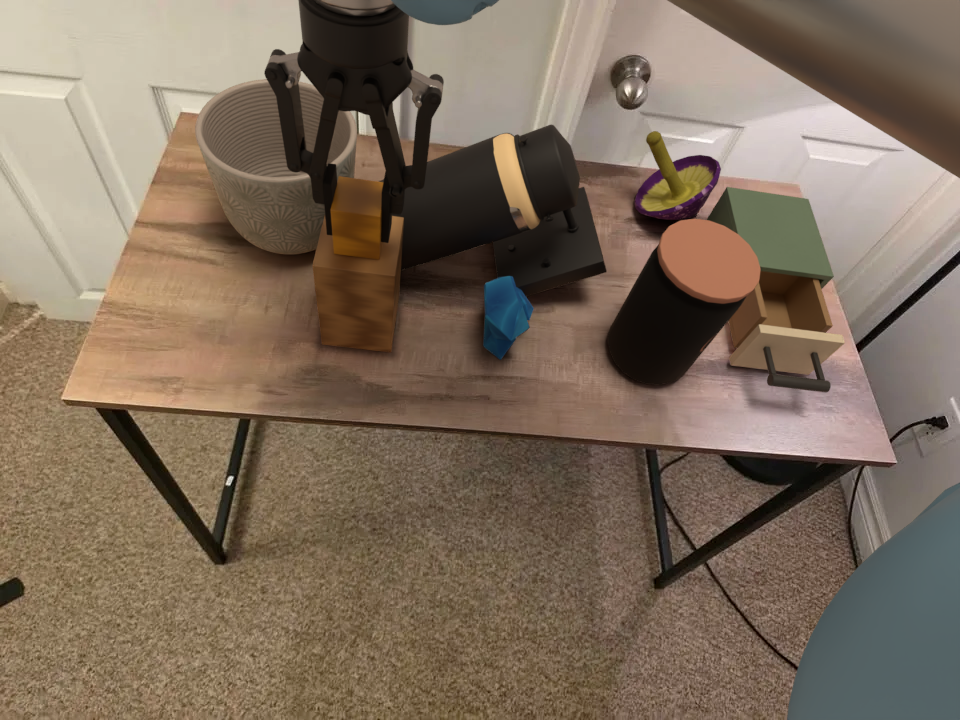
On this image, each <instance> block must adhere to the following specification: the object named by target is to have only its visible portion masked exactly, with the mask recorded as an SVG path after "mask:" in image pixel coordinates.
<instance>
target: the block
mask: <svg viewBox="0 0 960 720" xmlns="http://www.w3.org/2000/svg"><path fill="white" fill-rule="evenodd" d="M382 187H383V182H378V181H376V180H369V179H363V178H357V177H356V178H355V177H354V178H349V177H342V176H339V177H338V181H337V186H336V190H335V194H334V198H333V202H332V206H331V223H332V236H333V249H334V254H339V255H347V256H355V257H362V258H370V259H378V260H379V259H380V255H381V249H382V243H383V242H381V216H382V210H381V198H382Z"/></svg>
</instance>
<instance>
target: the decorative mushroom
mask: <svg viewBox="0 0 960 720" xmlns="http://www.w3.org/2000/svg"><path fill="white" fill-rule="evenodd" d="M645 142H646V144H647V145H648V147H649V150H650V151H651V154H652V156H653V159H654V161H655V163H656V165H657V167H658V170H656V171H654V172H653V173H652V174H651V175H650V176H649V177H648V178H647V179H645V180H644V181H643V182H642V184H641V185H640V187H639V188H638V190H637V192H636V194H635V197H634V202H633V203H634V208H635V210H636V211H638V213H640V214H641V215H644V216H648V217H652V218H655V219H660V220H668V221H669V220H670V221H674V220H676V221H677V220H678V221H679V220H688V219H696V217H697V215H698V213H700V211H701V209H702V208H703V207H704V206H705V204H706V202H707V201H708V199H709V197H710V196H711V193H712V192H713V190H714V189H715V187H716V186H717V185H718V183H719V180H720V179H719V178H720V174H721V171H722V167H721V165H720V162H719V161H718V159H715V158H714V157H713V156H710V155H703V154H695V155H688V156H686V157H682V158H679V159H676V160H674V161H673V160H672V157H671V156H670V153H669V151H668V149H667V146H666V144H665V141H664V138H663V136H662V134H661V132H659V131H657V130H654V131H651V132H649V133H648V134H647V135H646V138H645Z"/></svg>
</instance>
